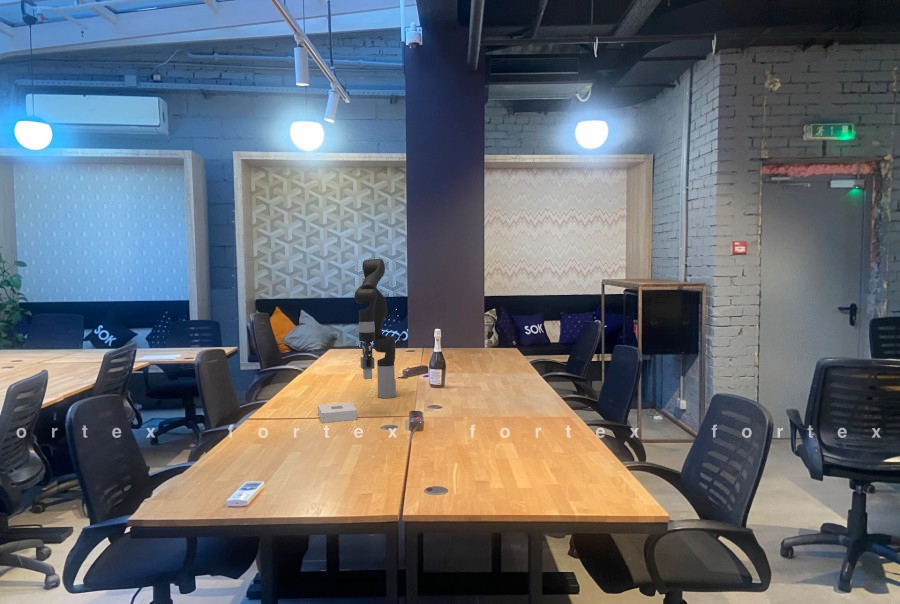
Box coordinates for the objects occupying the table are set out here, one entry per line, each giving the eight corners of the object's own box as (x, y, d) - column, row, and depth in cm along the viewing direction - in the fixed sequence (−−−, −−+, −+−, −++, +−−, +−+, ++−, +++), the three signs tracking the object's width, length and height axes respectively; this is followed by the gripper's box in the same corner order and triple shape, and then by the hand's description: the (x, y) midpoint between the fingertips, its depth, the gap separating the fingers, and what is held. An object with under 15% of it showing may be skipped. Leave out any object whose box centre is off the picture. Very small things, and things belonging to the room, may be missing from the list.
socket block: (351, 411, 289) (351, 402, 288) (357, 419, 273) (356, 410, 273) (318, 414, 283) (317, 405, 283) (322, 423, 268) (321, 413, 268)
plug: (372, 376, 285) (371, 356, 285) (374, 378, 280) (374, 358, 279) (360, 377, 284) (360, 357, 283) (363, 379, 278) (362, 359, 278)
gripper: (377, 332, 275) (378, 368, 276) (371, 328, 288) (372, 363, 289) (361, 333, 272) (362, 369, 273) (356, 329, 286) (357, 364, 287)
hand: (367, 365), depth 281 cm, fingers closed on plug, 5 cm apart
